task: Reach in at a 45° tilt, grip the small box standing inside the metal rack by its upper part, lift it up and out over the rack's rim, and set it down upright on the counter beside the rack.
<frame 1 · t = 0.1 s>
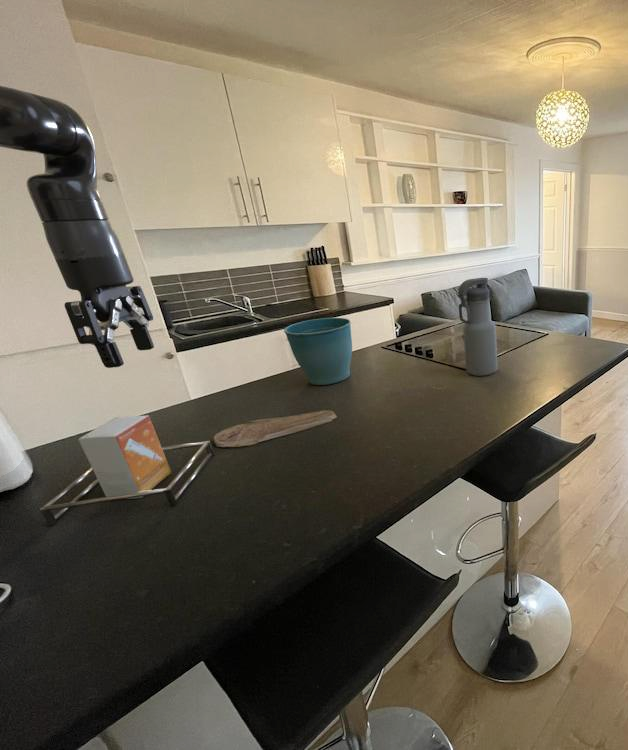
hand: (131, 357, 66), 26 cm above the countertop, tool pointing down, fingers open, 8 cm apart
small box: (142, 487, 78), on the countertop
water bottle: (481, 371, 126), on the countertop
flower pot: (329, 379, 125), on the countertop
metal rack: (141, 486, 78), on the countertop
fish fossil: (278, 429, 97), on the countertop
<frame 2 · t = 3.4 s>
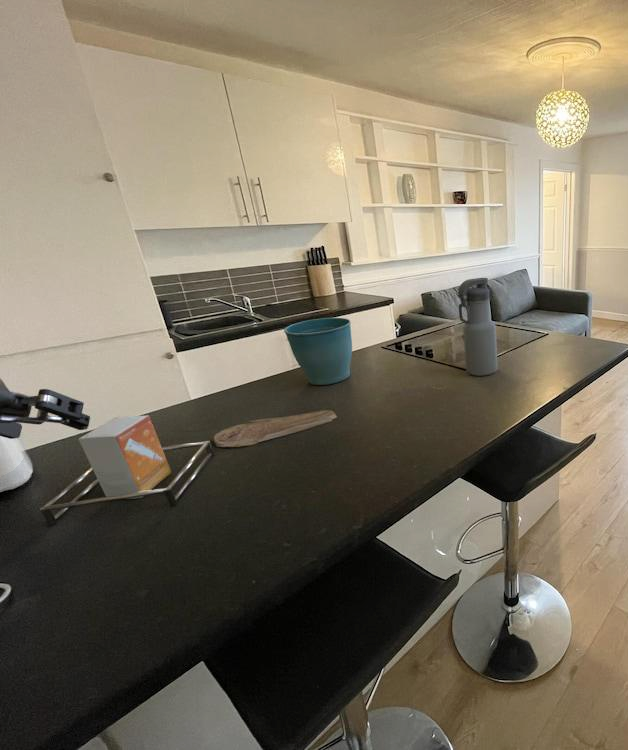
hand: (52, 427, 61), 19 cm above the countertop, tool tilted 45°, fingers open, 8 cm apart
nothing on the countertop moved.
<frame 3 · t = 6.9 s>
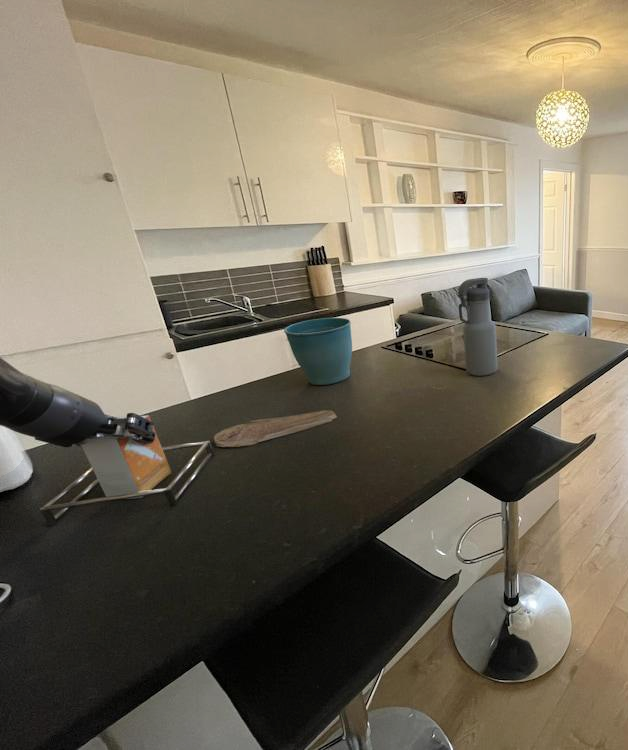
hand: (128, 441, 76), 9 cm above the countertop, tool tilted 45°, fingers closed on small box, 7 cm apart
small box: (142, 486, 78), on the countertop, touching gripper
everything else where it was.
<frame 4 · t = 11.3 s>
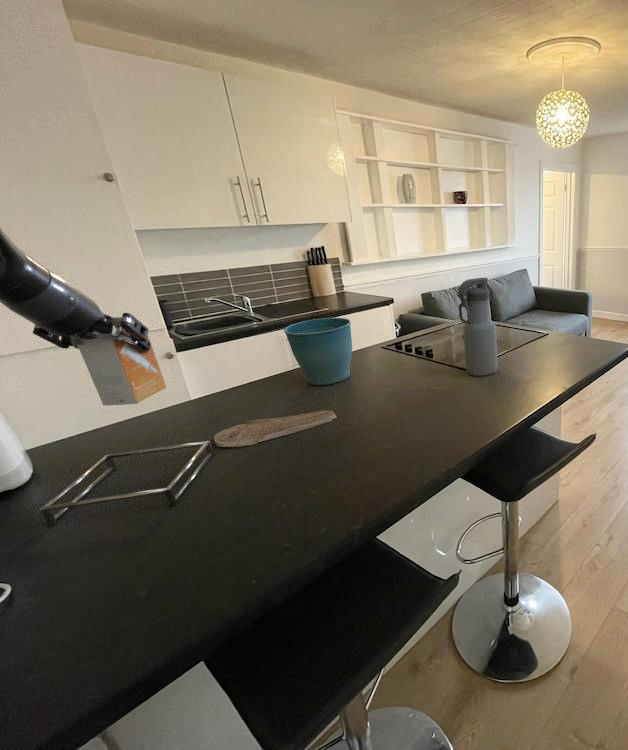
hand: (124, 350, 78), 24 cm above the countertop, tool tilted 45°, fingers closed on small box, 7 cm apart
small box: (137, 397, 80), point 15 cm above the countertop, touching gripper
everything else where it was.
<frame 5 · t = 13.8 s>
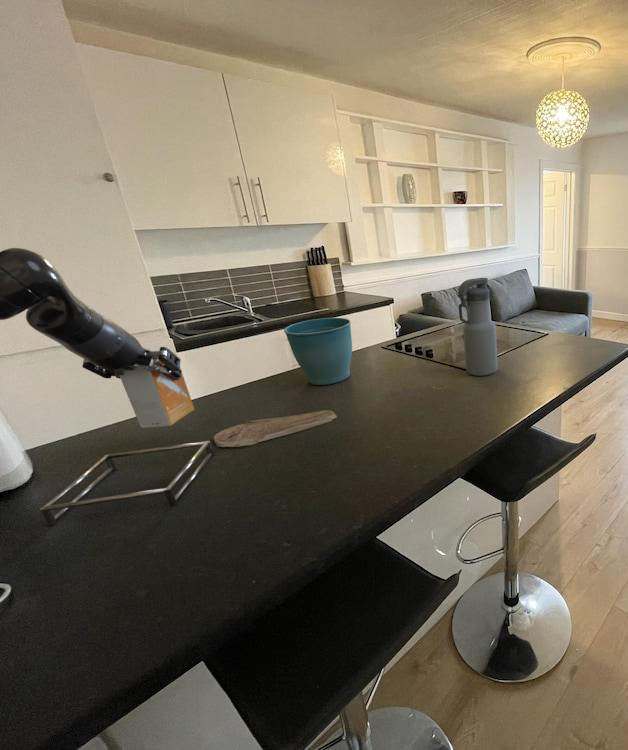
hand: (158, 377, 87), 16 cm above the countertop, tool tilted 45°, fingers closed on small box, 7 cm apart
small box: (169, 419, 89), point 7 cm above the countertop, touching gripper
everything else where it was.
when the fingers open (9 cm above the countertop, at t = 15.9 s): small box stays where it is, on the countertop.
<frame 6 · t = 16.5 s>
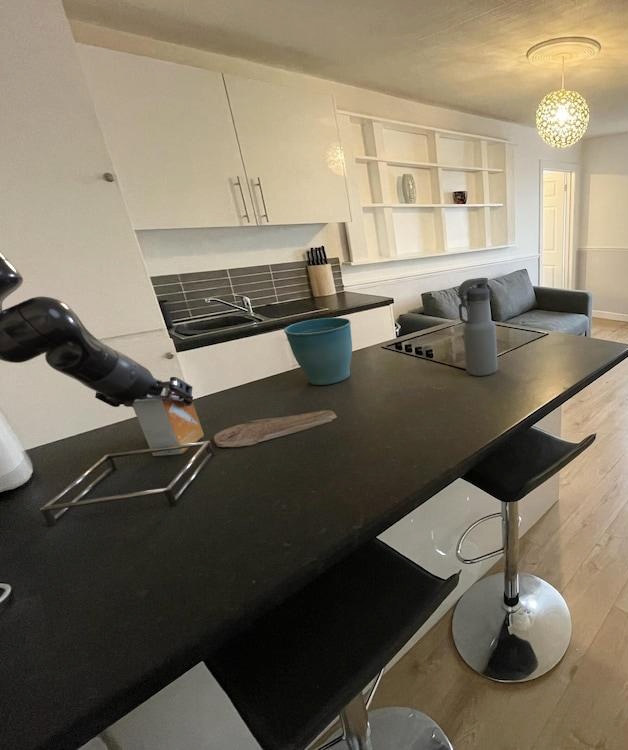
hand: (167, 404, 89), 10 cm above the countertop, tool tilted 45°, fingers open, 8 cm apart
small box: (180, 446, 91), on the countertop
everything else where it was.
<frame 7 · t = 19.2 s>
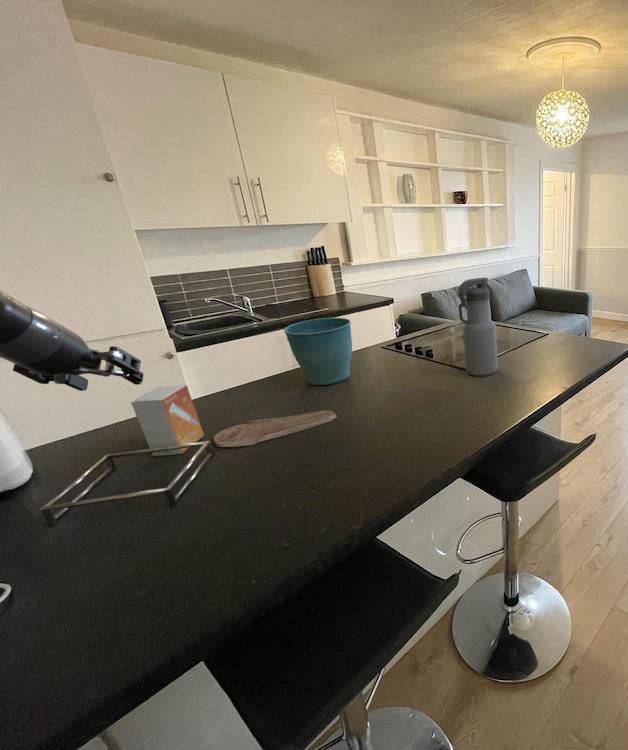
hand: (112, 382, 74), 20 cm above the countertop, tool tilted 45°, fingers open, 8 cm apart
nothing on the countertop moved.
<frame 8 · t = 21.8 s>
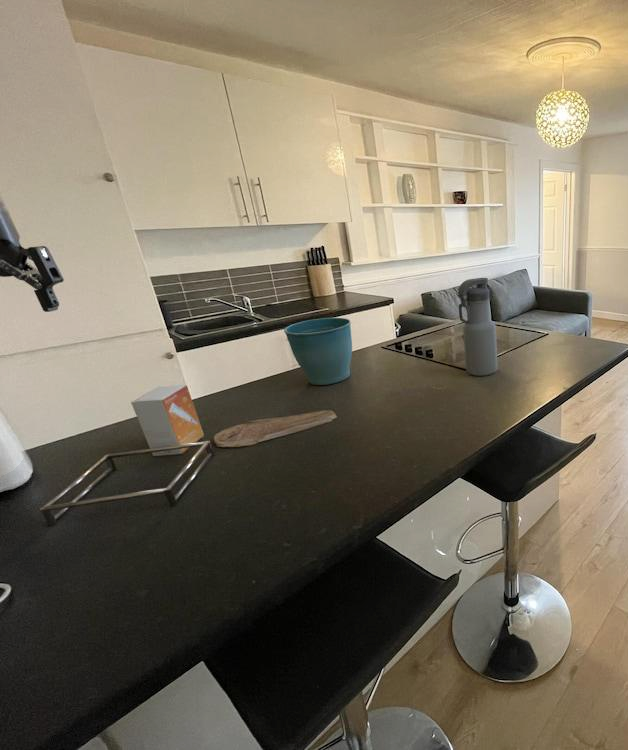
hand: (21, 313, 69), 33 cm above the countertop, tool pointing down, fingers open, 8 cm apart
nothing on the countertop moved.
at the end: small box inside the target area (0.6 cm from its centre), on the countertop; small box tilted 0°; the gripper is holding nothing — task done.
